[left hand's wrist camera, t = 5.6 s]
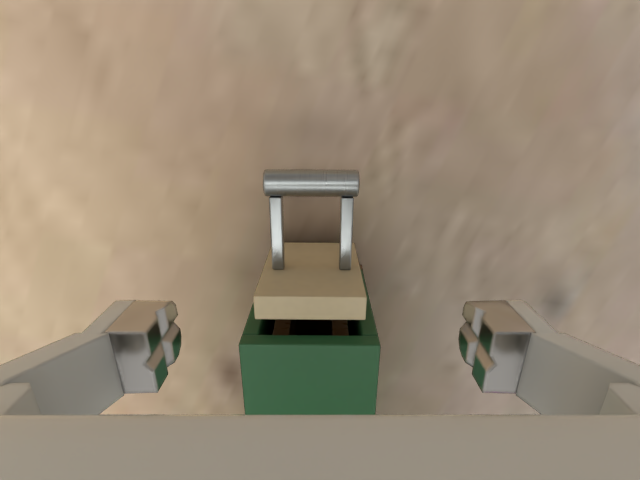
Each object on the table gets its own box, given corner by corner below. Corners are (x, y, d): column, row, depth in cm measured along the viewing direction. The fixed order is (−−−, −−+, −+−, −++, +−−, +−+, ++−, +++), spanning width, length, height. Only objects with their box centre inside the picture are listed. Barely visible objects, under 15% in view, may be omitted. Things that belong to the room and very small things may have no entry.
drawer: (268, 158, 20) (245, 182, 14) (357, 159, 20) (373, 183, 14) (281, 447, 28) (270, 543, 22) (345, 448, 28) (352, 544, 22)
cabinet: (266, 264, 23) (237, 344, 16) (361, 264, 23) (381, 345, 15) (276, 463, 30) (260, 590, 22) (351, 464, 30) (361, 591, 22)
